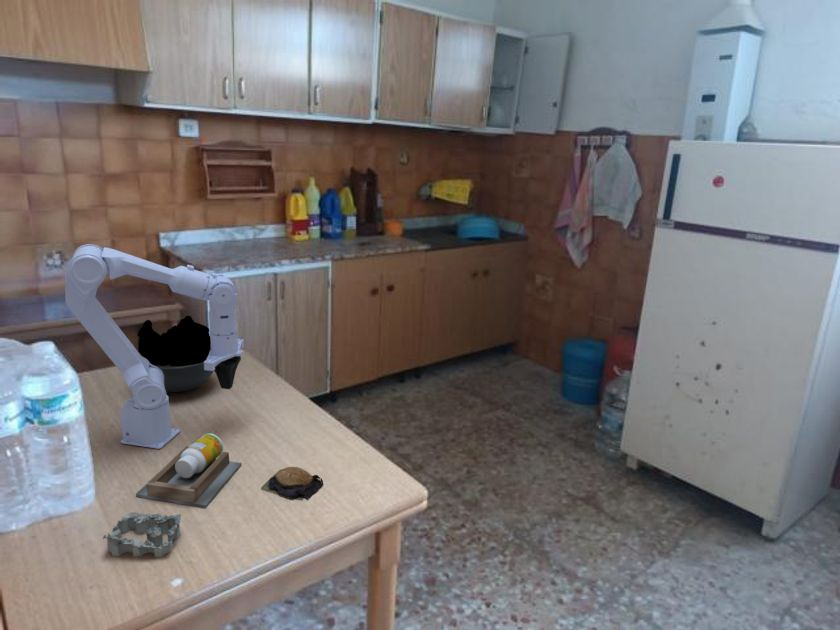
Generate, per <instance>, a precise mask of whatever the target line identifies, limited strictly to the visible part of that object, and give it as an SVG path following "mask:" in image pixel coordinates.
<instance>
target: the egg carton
mask: <svg viewBox="0 0 840 630" xmlns="http://www.w3.org/2000/svg"><path fill="white" fill-rule="evenodd" d="M181 517H182V514H181V513H177V514H172V515H169V516H168V515H167V514H164V515H162V514H161V513H156V514H153V513H147V514H145V513H140V512H134V511H133V512H129V513H127V514H125V515H124V516H122V517H121V518H119V520H117V523H116V525H114V526H113V528H112V532H111V533H110V532H108V533H107V534H105V535H103V538H102V540H104V539H106V542H107V551H108V552H110V553H111V554H112V557H120V556H122V555H123V554H126V553H132V555H133V557H135V558H136V557H141V556H142V555H145V554H146V553H147V554H149V553H152V554H154V558H162V557H163V556H165V555H166V554H169V553H172V552H173V550H174V545H173V543H174V541H175V540H177V539H180V536H181V529H180V527H181V526H180V524H181V523H180V522H181ZM130 530H134V531H135V533H137V534H140V535H141V534H145V535H146V539H147V540H145V542H144V543H142V542H143V539H142V538H140V537H134V538H131V539H128V538H126V537H124V538H123V537H122V534H125V533H127V532H128V531H130ZM164 534H166V535H167V541H164V542H163V538H164V537H163V535H164Z"/></svg>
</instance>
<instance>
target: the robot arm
mask: <svg viewBox="0 0 840 630" xmlns="http://www.w3.org/2000/svg"><path fill="white" fill-rule="evenodd" d="M107 275H109V280H110V281H111V280H114V279H117V278H120V277H123V276H125V275H128V276H132V277H136V278H139V279H143V280H148V281H153V282H157V283H162V284H164V285H165V284H166V285H168V287H169V289H170V290H171V291H172V293H176V294H180V295H183V296H186V297H189V298H192V299H197V300H201V301H209V302H208V303H209V305H208V306H209V311H208V323H209V335H210V341H211V350H210V352H209V355H208V357H207V359H206V361H204V370H208V371H214V372H213V373H215V375H216V377H217V380H218V383H219V386H220V389H223V390H230V389H232V388H233V385H234V381H235V376H236V373H237V368H238V366H239V364H240V362H241V360H242V355H243V354H244V351H243V350H242V349H243V348H245V346H244V345H245V344H244V342H245V341H244V339H241V338H239V336H238V318H237V309H236V308H237V307H236V305H237V304H236V303H237V301H238V299H239V293H237V288H236V287H235V285H234V284H233V283H234V282H233V281H232V280H231V279H229V278H228V277H226V276H224V275H223V274H217V273H214V272H212V273H211V274H209V273H207V272H203V271H200V270H197V269H195V266H194V265H191V264H187V265H186V266H184V265H179V266H177V267H175V268H170V267H167V266H164V265H161V264H158V263H155V262H152V261H151V260H150V261H149V260H147V259H143V258H141V257H138V256H135V255H131V254H129V253H125V252H123V251H120V250H117V249H113V248H111V247H103V248H102V247H101V246H99V245H97V244H93V243H92V244H90V243H88V244H82V245H81V246H79V247H77V248H76V249H75V251H74V252H73V254H72V256H71V259H70V261H69V263H68V266H67V269H66V271H65V273H64V282H65V283H64V285H65V288H64V289H65V290H64V291H65V295H64V296H65V297H64V298H65V305H66V306H67V308H68V310H70V311H71V313H72V314H73V315H74V316H75V317H76V319H77V320H78V321H79V323H81V325H82V326H83V328H85V330H86V331H87V332H88V334H89V335H90V336H91V337H92V338H93V339H94V341H95V342H96V343H97V345H99V347H100V349H102V351H103V352H104V354H106V355H107V357H108V358H109V359H110V361H111V362H112V364H114V366H115V367H116V368H117V370H119V372H120V373H121V374H122V377H123V379H124V381H125V383H126V386H127V387H128V388H129V389H130V390H131V393H132V397H131V398H128V399H126V400H125V402H124V403H123V404H122V406H121V408H120V413H119V416H120V417H119V418H120V424H121V425H120V426H121V434H122V439H121V440H120V443H121V444H125V445H130V446H131V445H132V446H137V447H138V446H139V447H144V448H145V447H146V448H151V449H157V450H159V449H160V450H161V449H162V448H163V447H165V445H167V444H168V443H169V442H170V441H171V440H172V439H173V438H174V437H176V436H177V435H178V434H179V433H180V432H181V429H179V428H174V427H172V423H171V419H172V418H171V411H170V409H171V408H170V399H169V395H167V391H166V390H165V386H164V374H163V372H162V371H161V370H160V369H159V368H158V367H155V366H153V365H152V364H150V363H149V361H148V360H147V359H146V358H144V357H142V356H141V355H140V354H139V352H138V349H136V347H135V346H134V344H133V343H132V342H131V341H130V340H129V338H128V337H127V336H126V335H125V333H124V332H123V331H122V330H121V328H120V327H119V326H118V324H117V323H116V322H115V321H114V320H115V319H113V318H112V316H111V315H110V314H109V313H108V311H107V310H106V309H105V308H104V306H103V305H102V304H101V303H100V301H99V300H98V298H96V295H97V291H98V288H99V286H100V285H101V284H102V282H104V280H105V279H106V276H107Z"/></svg>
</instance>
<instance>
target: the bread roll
mask: <svg viewBox="0 0 840 630" xmlns="http://www.w3.org/2000/svg"><path fill="white" fill-rule="evenodd" d="M323 486H324V481H323V478H321V477H320V476H319V475H318V474H313V475H312V474H311V473H310V472H308V471H307V470H305V469H303V468H302V467H297V466H288V467H284V468H282V469H279V470H278V471H276V473H275V474H274V475H272V476H271V477H270V478H269V479H268V480H267V481H266V482H265V483H264V484H263V485H262V486H261V488H260V490H262V491H265V492H267V493H271V494H273V495H276V496H280V497H283V498H288V499H290V500H295V501H301V502H302V501H304V499H305V500H306V501H308V500H310V499H311V498H312V497H313V496H314V495H315V494H317V493H318V491H320V490H321V489H322V488H323Z"/></svg>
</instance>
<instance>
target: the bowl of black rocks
mask: <svg viewBox="0 0 840 630" xmlns="http://www.w3.org/2000/svg"><path fill="white" fill-rule="evenodd" d="M166 330H167V331H166V332H163V333H161V334H159V333H158V332H156V331H155V330H154V329H153V322H152V321H151V320H150V319H147V320H145V321H144V322H143V324H142V326H141V328H139V330H138V331H137V337H138V338H139V339H138V343H137V344H138V347H137V351H138V352H139V354H140V355H141V356H142V357H144V358H146V359H147V360H148V361H149V363H150V364H152V365H153V366H155V367H158V368H159V369H160V370H161V371H162V372H163V374H164V386H165V390H166V392H170V393H180V392H188V391H190V390H193V389H196V388H197V387H199V386H201V385H202V384H204V383H205V382H206V381H208V379H209V378H210V377H211V376H212V375H213V373H215V372H214V371H208V370H204V361H206V359H207V357H208V355H209V352H210V350H211V341H210V327H208V326H207V325H203V324H201V323H199V322H196V321H194V319H193V317H192V316H191V315H186V316H185V317H184V318H182V319H180V321H179V323H177V325H176V324H175V325H173V326H172V327H171V328H168V329H166Z"/></svg>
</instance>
